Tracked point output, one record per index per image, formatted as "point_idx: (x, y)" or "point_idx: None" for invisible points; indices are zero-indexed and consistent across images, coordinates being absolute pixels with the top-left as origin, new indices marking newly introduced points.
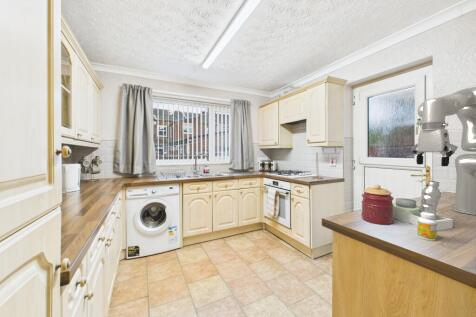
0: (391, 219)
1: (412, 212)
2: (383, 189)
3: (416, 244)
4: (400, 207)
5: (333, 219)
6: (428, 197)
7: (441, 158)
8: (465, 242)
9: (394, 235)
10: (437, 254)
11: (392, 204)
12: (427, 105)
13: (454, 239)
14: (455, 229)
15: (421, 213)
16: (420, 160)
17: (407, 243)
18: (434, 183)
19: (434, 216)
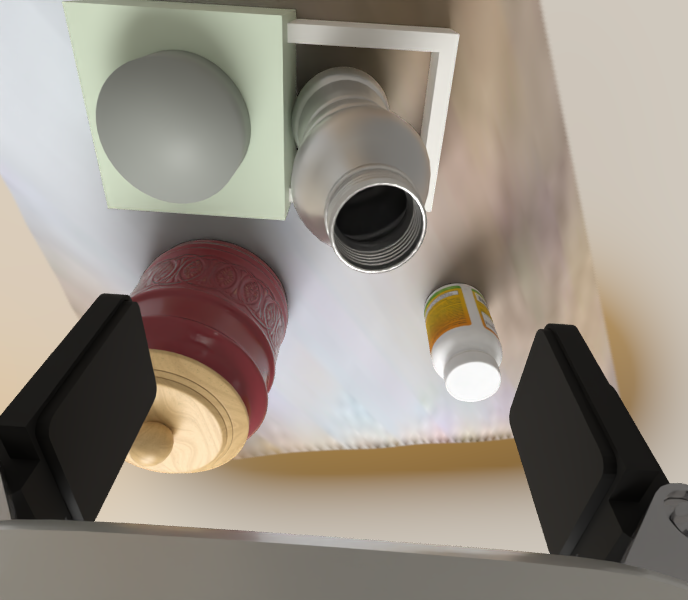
0: (284, 307)
1: (287, 182)
2: (170, 407)
3: None
4: (213, 201)
5: None
6: (373, 228)
7: (545, 538)
8: (561, 211)
9: (385, 384)
10: None
11: (254, 335)
12: None
13: (522, 218)
14: (467, 31)
15: (454, 397)
16: (119, 411)
17: (448, 405)
18: (403, 258)
19: (499, 370)
